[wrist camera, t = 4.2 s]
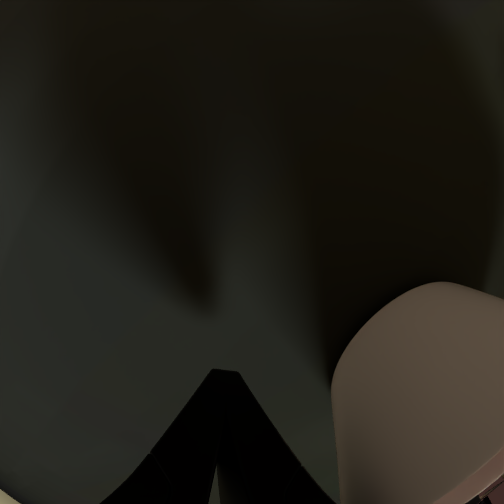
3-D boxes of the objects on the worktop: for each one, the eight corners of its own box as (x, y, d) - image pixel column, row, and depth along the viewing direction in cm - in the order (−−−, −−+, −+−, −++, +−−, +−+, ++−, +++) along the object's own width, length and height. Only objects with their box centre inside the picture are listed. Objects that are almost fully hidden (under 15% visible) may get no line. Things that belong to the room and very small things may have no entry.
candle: (278, 439, 10) (300, 566, 4) (335, 231, 7) (527, 396, 1) (434, 413, 11) (484, 491, 5) (507, 259, 8) (607, 320, 2)
